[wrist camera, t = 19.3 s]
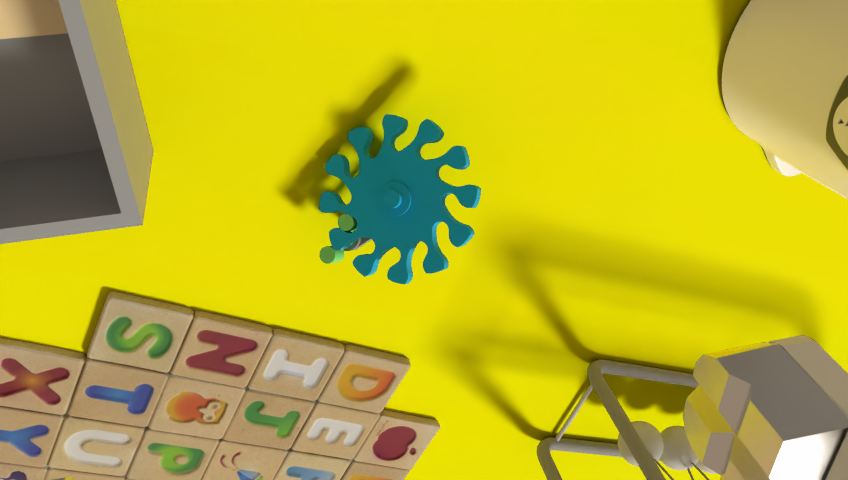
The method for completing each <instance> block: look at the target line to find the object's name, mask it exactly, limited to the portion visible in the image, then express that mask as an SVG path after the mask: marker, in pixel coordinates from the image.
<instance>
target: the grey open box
mask: <svg viewBox="0 0 848 480" xmlns="http://www.w3.org/2000/svg"><path fill="white" fill-rule="evenodd" d="M152 157H153V147H152V143H151V139H150V135H149V131H148V127H147V123H146V119H145V115H144V111H143V108H142V104H141V100H140V96H139V92H138V88H137V84H136V80H135V76H134V72H133V68H132V64H131V60H130V56H129V52H128V48H127V44H126V40H125V36H124V32H123V28H122V24H121V20H120V16H119V12H118V8H117V4H116V0H0V244H4V243H12V242H19V241H27V240H34V239H41V238H49V237H56V236H64V235H71V234H79V233H86V232H94V231H101V230H109V229H116V228H124V227H131V226H139V225H143V219H144V212H145V205H146V198H147V191H148V184H149V178H150V171H151V164H152Z"/></svg>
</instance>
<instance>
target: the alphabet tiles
mask: <svg viewBox="0 0 848 480" xmlns="http://www.w3.org/2000/svg"><path fill="white" fill-rule="evenodd" d="M409 368H410V362H409V359H408V358H406V357H402V356H398V355H394V354H390V353H386V352H381V351H377V350H373V349H368V348H364V347H360V346H355V345H350V344H346V345H343V344H342V343H340V342H336V341H332V340H327V339H323V338H318V337H314V336H310V335H305V334H301V333H296V332H292V331H288V330H283V329H279V328H274V329H272V328H271V327H269V326H266V325H262V324H258V323H254V322H249V321H245V320H240V319H236V318H231V317H227V316H222V315H218V314H213V313H209V312H204V311H200V310H199V311H194V310H192V309H191V308H187V307H183V306H178V305H174V304H169V303H165V302H160V301H156V300H152V299H147V298H143V297H138V296H134V295H130V294H125V293H121V292H116V291H110V292H109V293H108V295H107V297H106V300H105V303H104V305H103V308H102V311H101V314H100V316H99V319H98V322H97V325H96V328H95V330H94V333H93V336H92V339H91V341H90V344H89V347H88V351H87V355H85V354H84V353H80V352H75V351H71V350H66V349H61V348H56V347H51V346H45V345H39V344H34V343H28V342H23V341H17V340H12V339H6V338H1V337H0V480H53V479H59V478H65V477H73V478H74V480H404V479H405V477H406V476H407V474H408V473H409V470H411V469H412V468H413V466H414V465H415V464H416V462H417V461H418V459H419V458H420V456H421V455H422V453H423V452H424V450H425V449H426V447H427V446H428V445H429V443H430V442H431V440H432V439H433V437H434V436H435V434H436V433H437V432H438V430H439V429H440V425H439V423H438V421H437V420H435V419H429V418H424V417H418V416H413V415H408V414H403V413H398V412H393V411H389V410H384V407H385V406H386V404H387V402H388V401H389V399H390V398H391V396H392V395H393V393H394V392H395V390H396V389H397V387H398V385H399V384H400V382H401V381H402V379H403V377H404V376H405V374H406V373H407V371H408V369H409Z"/></svg>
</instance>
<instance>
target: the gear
mask: <svg viewBox="0 0 848 480" xmlns="http://www.w3.org/2000/svg"><path fill="white" fill-rule="evenodd" d="M382 125H383V129H384V140H383V144H382V147H381V149H380V151H379V153H378V155H377V156H376V157H375V158H372V157H371V156H370V155H369V147H370V145H371V143H372V141H373V132H372V130H371V129H370V128H367V127H359V128H356V129H353V130H352V131H350V132H348V139H349V141H350V143H351V144H352V145H353V146H354V148H355V149H356V151H357V154H358V157H359V166H360V171H359V174H358V175H357V176H356V177H355V178H353V177H352V176H351V174H350V166H349V161H348V159H347V158H346V157H345V156H344V155H340V154H335V155H333V156H332V157H331V158H330V159H329V161H328V162H327V163H326V165H325V166H324V167H325V170H326V172H327V173H328V174H330V175H333V176H336V177H338V178H339V179H341V180H342V181H343V182H344V183H345V184H346V186H347V187H348V189H349V191H350V192H351V195H352V199H351V202H350V203H349V204H348V205H346V204H345V203H344V202H343V200H342V199H341V197H340V196H339V194H338V193H336V192H329V191H325V192H323V193H322V195H321V198H320V203H319V210H320V211H322V212H324V213H334V212H338V211H340V212H344V213H346V214H343V215H341V216H340V217H339V219H338V226H339V228H334V229H332V230H330V231H329V237H330V241H331V244H332V246H326V247H324V248H322V249H321V251H320V259H321V260H322V261H323V262H324V263H334V262H339V261H341V260H342V259H343V257H344V251H351V250H356V249H358V248H359V247H361V246H362V245H364V244H365V243H367V242H369V241H370V240H373V241H374V243H375V250H374V252H373V253H372V254H364V255H359V256H357V257H356V258H355V259H354V261H353V265H354V267H355V268H356V269H357V270H358V271H359V272H360V273H361V274H362V275H363V276H369V275H372V274H374V273H375V272H376V270H377V267H378V264H379V261H380V259H381V258H382V256H383V255H384V254H385V253H386V252H387V251H389V250H390V249H392V248H393V247H396V248H398V249H399V251H400V253H401V258H400V260H399V262H398V263H396V264H395V265H393V266H392V267H390V269H389V270H388V274H387V277H388V279H389V280H391V281H393V282H396V283H400V284H407V283H410V281H411V280H412V277H413V272H412V268H411V259H412V254H413V252H414V250H415V248H416V246H417V244H418V243H419V242H420V241H423V242H424V243H425V244H426V245H427V247H428V253H427V255H426V257H425V259H424V261H423V268H424V271H425V272H426V273H435V272H439V271H442V270H444V269H447V268H448V260H447V258H446V257H445V255H444V254H443V253H442V252H441V250H440V248H439V246H438V243H437V237H436V228H437V225H438V224H439V223H440V222H445V223H446V224H447V225H448V228H449V239H450V241H451V243H452V244H453V245H454V246H456V247H461V246H463V245H465V244H466V243H467V242H468V241H469V240H470V239H471V238H472V237H473V235H474V234H475V233H474V230H473V229H472V228H471V227H470V226H469V225H466V224H463V223H461V222H459V221H457V220H456V219H455V218H454V217H453V216H452V215H451V214H450V212H449V211H448V209H447V207H446V205H445V198H446V196H447V195H449V194H451V193H452V194H454V195H455V196H456V197H457V199H458V201H459V202H460V204H461V205H462V206H464V207H467V208H475V207H477V205H478V203H479V200H480V195H481V188H479V187H478V186H475V185H465V186H460V187H456V186H452V185H450V184H448V183H446V182H444V181H442V180H441V179H440V177H439V170H440V168H441V167H442V166H443V165H449V166H451V167H453V168H456V169H466V168H467V167H469V166H470V160H469V156H468V153H467V150H466V148H465V147H462V146H454V147H452V148H451V149H450V150H449V151H448V152H447V153H446V154H444V155H443V156H441V157H439V158H436V159H429V160H424V159H423V158H422V157H421V154H420V150H421V148H422V146H423V145H424V144H427V143H436V142H439V141H440V140H441V139H442V138H443V136H444V132H443V131H442V129H441V128H440V127H439V126H438V125H437V124H436V123H434V122H433V121H431V120H428V119H426V120H424V121H423V122H422V123H421V124H420V126H419V130H418V133H417V135H416V137H415V139H414V140H413V141H412V143H411V144H409V145H408V146H407V147H406V148H404V149H403V150H401V151H397V150H396V148H395V140H396V138H397V137H399V136H400V135H401V134H403V133H404V132H405V131H406V129H407V127H408V120H406V119H404V118H402V117H399V116H396V115H388V114H386V115H385V116H384V118H383V121H382Z"/></svg>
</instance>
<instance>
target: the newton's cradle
mask: <svg viewBox="0 0 848 480" xmlns="http://www.w3.org/2000/svg"><path fill="white" fill-rule="evenodd" d="M603 373H606V374H612V375H619V376H625V377H632V378H638V379H645V380H651V381H658V382H664V383H671V384H677V385H684V386H690V387H698V385H699V383H698V382H697V381H696V379H695V378H694V377H693V374H690V373H684V372H678V371H671V370H665V369H659V368H653V367H647V366H641V365H635V364H629V363H622V362H616V361H610V360H596V361H593V362H592V363H591V364H590V365H589V367H588V371H587V375H588V378H589V380H590V383H591V384H590V385H589V387H588V389H587V390H586V392H585V393H584V395H583V396H582V398H581V399H580V401H579V402H578V404H577V405H576V407H575V408H574V410H573V411H572V413H571V415H570V416H569V418H568V419H567V421H566V422H565V424H564V425H563V427H562V428H561V430H560V431H559V433H558V434H557V436H556V437H548V438H545V439H543V440H541V442H540V443H539V445H538V446H537V456H538V459H539V462H540V464H541V466H542V469H543V471H544V473H545V475H546V478H547V480H562V478H561V476H560V474H559V472H558V470H557V468H556V465H555V463H554V461H553V459H552V457H551V455H550V451H551V450H558V451H568V452H578V453H588V454H598V455H608V456H618V457H623V458H624V459H625V460H626V461H627V462H629V463H630V464H632V465H635V466H639V467H640V469H641V470H642V472H643V474H644V475H645V477H646V479H647V480H666V479H665V478H664V476H663V474H662V473H661V471H660V469H659V468H658V466H657V464H658V465H659V466H660V468H661V469H662V470H663V471H664V472H665V473H666V474H667V475H668V476H669V478H670V479H671V480H674V479H673V478H672V477H671V476H670V475H669V474H668V472H667V471H666V470H665V469H664V468H663V467H662V466H661V465H660V464H659V463H658V461H662V462H663V463H664V464H665V465H666V466H668V467H670V468H672V469H675V470H687V469H688V472H689V474H690V477H691V479H692V480H694V479H693V476H692V474H691V472H690V470H689V469H690V468H692V467H693V466H695V468H696V469H697V470H698V471H699V472H700V473H701V474H702V475H703V476H704V477H705V478H706V479H707V480H709V479H708V478H707V477H706V475H705V474H704V473H703V472H702V471H701V470H703V471H705V472H707V473H716V472H715V471H713V470H711V469H709V468H708V467H706V466H704V465H702V464H701V462H700V461H699V459H698V458H697V456H696V455H695V453H694V451H693V450H692V448H691V446H690V443H689V441H688V438H687V436H686V433H685V427H682V426H671V427H668V428H666V429H665V430H663V431H662V432H661V433H660V432H659V431H658V430H657V429H656V428H655V427H654V426H653V425H651V424H649V423H647V422H643V421H635V422H630V420H629V418H628V417H627V415H626V413H625V412H624V410H623V408H622V407H621V405H620V403H619V402H618V400H617V399H616V397H615V395H614V394H613V392H612V390H611V389H610V387H609V385H608V384H607V382H606V380H605V379H604V377H603V375H602V374H603ZM593 388H594V390H595V391H596V393H597V395H598V396H599V398H600V400H601V402H602V403H603V405H604V407H605V408H606V410H607V412H608V414H609V415H610V417H611V419H612V420H613V422H614V424H615V426H616V427H617V429H618V431H619V432H620V433H619V436H618V444H614V443H604V442H595V441H586V440H577V439H568V438H561V437H562V435H563V434H564V432H565V431H566V429H567V428H568V426H569V425H570V423H571V422H572V420H573V419H574V417H575V416H576V414H577V412H578V411H579V409H580V408H581V406H582V405H583V403H584V402H585V400H586V399H587V397H588V396H589V394H590V393H591V391H592V390H593ZM655 462H656V463H657V464H656V463H655ZM700 469H701V470H700Z"/></svg>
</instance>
